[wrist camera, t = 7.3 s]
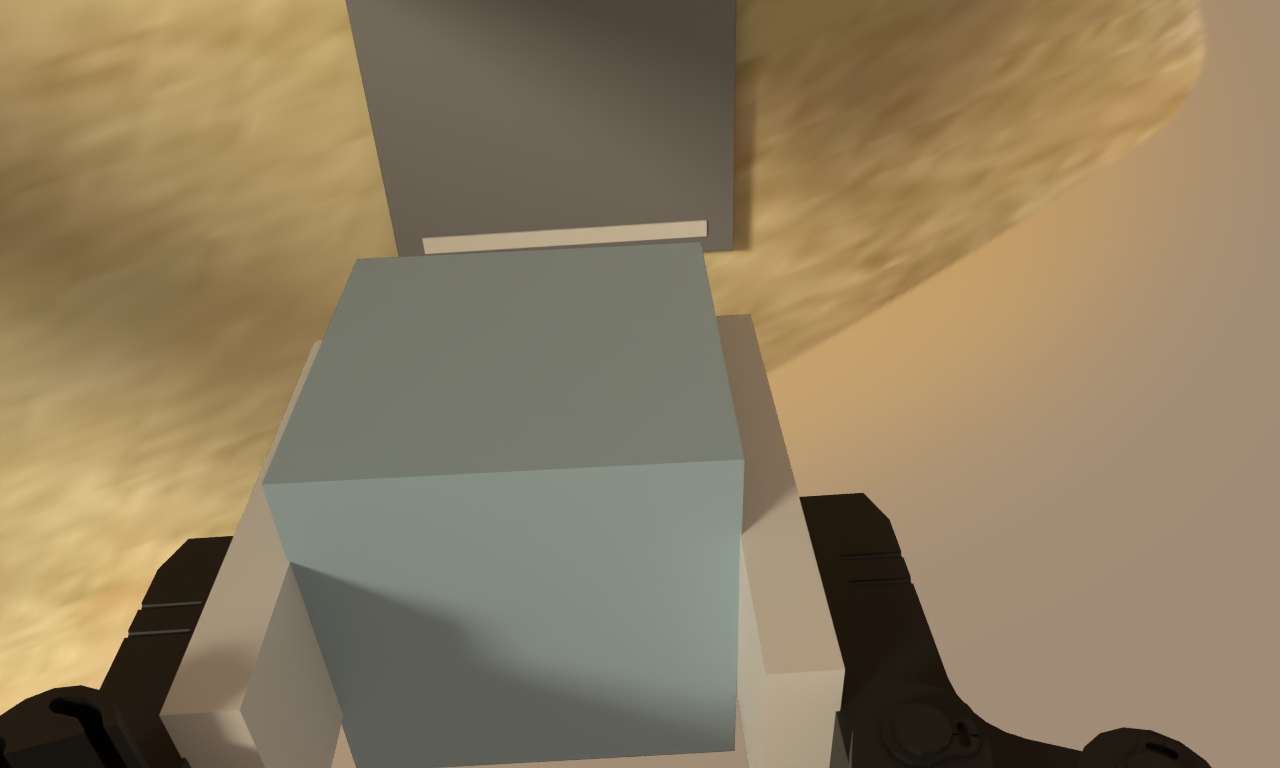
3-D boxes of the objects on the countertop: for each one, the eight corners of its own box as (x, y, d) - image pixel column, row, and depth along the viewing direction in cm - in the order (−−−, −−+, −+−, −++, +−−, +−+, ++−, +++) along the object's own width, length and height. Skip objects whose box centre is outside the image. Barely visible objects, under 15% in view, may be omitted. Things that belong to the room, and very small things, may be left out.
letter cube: (356, 259, 14) (261, 484, 10) (701, 241, 14) (743, 459, 10) (415, 521, 17) (359, 777, 13) (700, 506, 17) (734, 757, 13)
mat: (404, 261, 30) (401, 272, 29) (331, -98, 24) (325, -94, 24) (729, 241, 30) (732, 251, 30) (734, -121, 24) (737, -117, 24)
